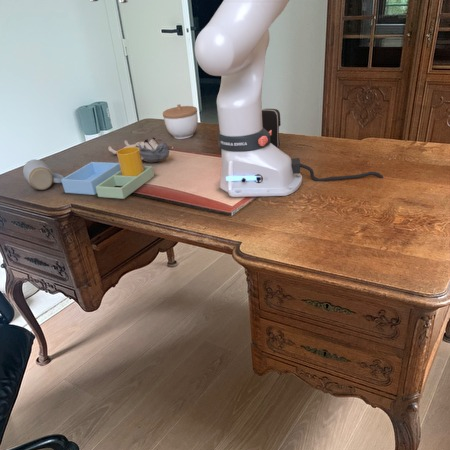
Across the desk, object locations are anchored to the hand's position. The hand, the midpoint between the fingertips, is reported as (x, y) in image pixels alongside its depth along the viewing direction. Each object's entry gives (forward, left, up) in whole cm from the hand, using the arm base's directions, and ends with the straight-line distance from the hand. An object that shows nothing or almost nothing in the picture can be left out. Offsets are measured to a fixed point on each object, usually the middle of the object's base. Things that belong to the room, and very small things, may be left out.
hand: (109, 1), depth 107 cm
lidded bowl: (+8, -40, -44) cm, 60 cm away
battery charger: (-29, -31, -44) cm, 62 cm away
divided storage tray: (+2, +7, -44) cm, 45 cm away
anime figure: (+11, -15, -44) cm, 48 cm away
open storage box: (+14, +7, -44) cm, 47 cm away
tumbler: (+2, +3, -44) cm, 44 cm away
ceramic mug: (+30, +11, -44) cm, 55 cm away
